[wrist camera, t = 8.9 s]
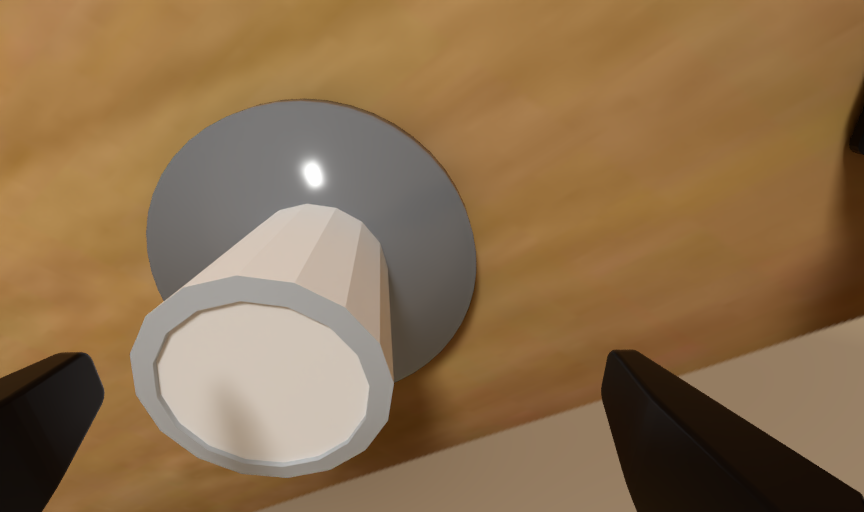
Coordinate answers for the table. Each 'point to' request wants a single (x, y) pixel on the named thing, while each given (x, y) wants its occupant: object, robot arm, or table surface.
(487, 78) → the table surface
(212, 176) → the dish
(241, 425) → the white cup
